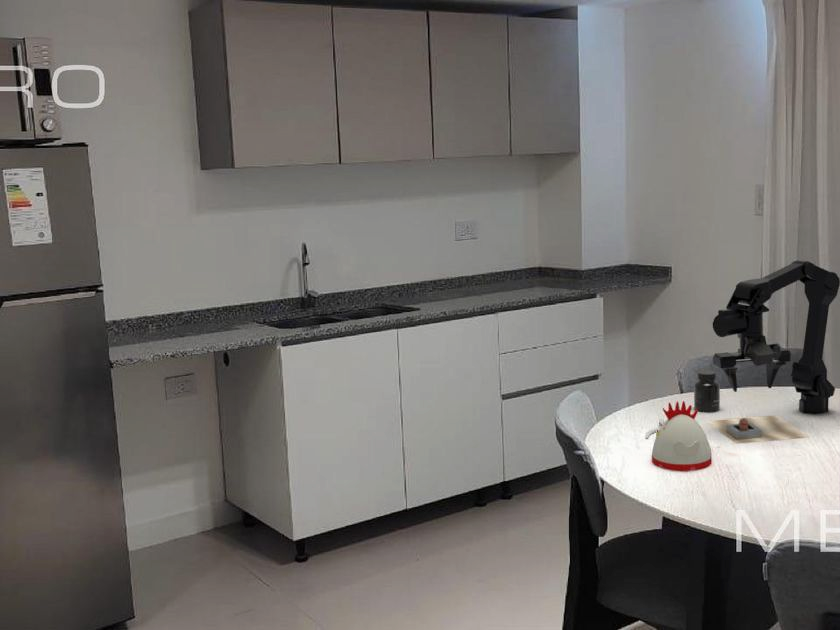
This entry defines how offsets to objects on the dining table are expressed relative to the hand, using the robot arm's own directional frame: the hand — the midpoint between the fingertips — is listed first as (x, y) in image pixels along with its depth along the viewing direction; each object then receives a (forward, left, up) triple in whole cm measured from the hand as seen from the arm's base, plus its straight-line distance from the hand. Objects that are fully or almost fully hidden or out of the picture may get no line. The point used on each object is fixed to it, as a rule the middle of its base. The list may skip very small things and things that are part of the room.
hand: (752, 389), depth 247 cm
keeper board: (0, +3, -11) cm, 12 cm away
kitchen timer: (+25, +18, -12) cm, 33 cm away
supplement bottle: (+5, -18, -11) cm, 22 cm away
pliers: (+21, -7, -12) cm, 25 cm away
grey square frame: (+5, +7, -10) cm, 13 cm away
